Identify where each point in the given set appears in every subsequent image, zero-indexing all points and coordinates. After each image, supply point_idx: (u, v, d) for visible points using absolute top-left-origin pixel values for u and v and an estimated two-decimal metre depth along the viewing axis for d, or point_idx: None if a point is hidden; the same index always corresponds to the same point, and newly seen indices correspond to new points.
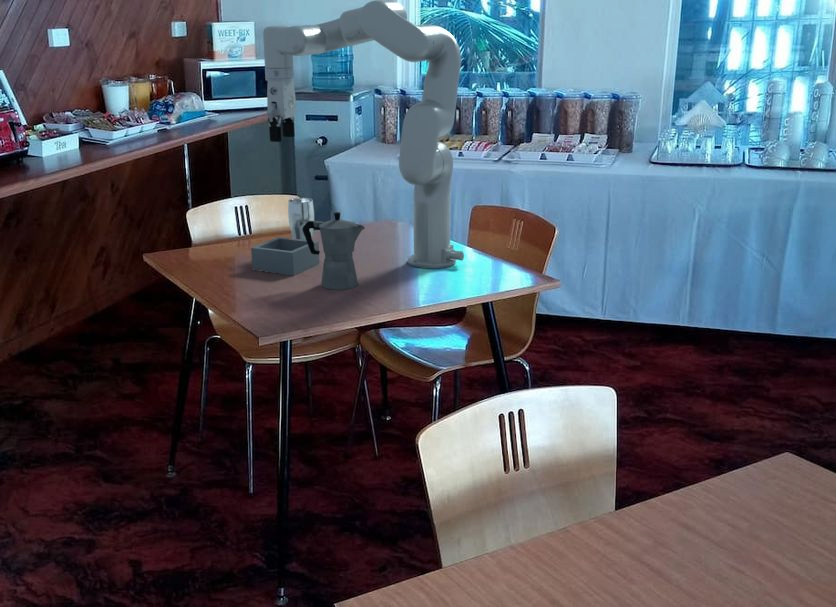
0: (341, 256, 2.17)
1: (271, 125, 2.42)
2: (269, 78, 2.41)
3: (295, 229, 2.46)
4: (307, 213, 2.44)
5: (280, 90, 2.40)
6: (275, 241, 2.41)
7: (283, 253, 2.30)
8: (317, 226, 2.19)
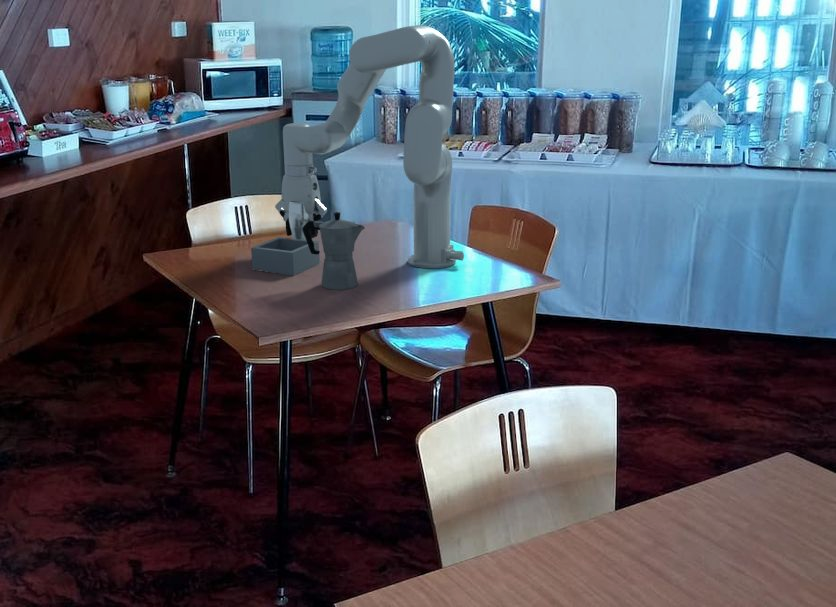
0: (341, 256, 2.17)
1: None
2: (307, 175, 2.41)
3: (295, 229, 2.46)
4: None
5: None
6: (275, 241, 2.41)
7: (283, 253, 2.30)
8: (317, 226, 2.19)
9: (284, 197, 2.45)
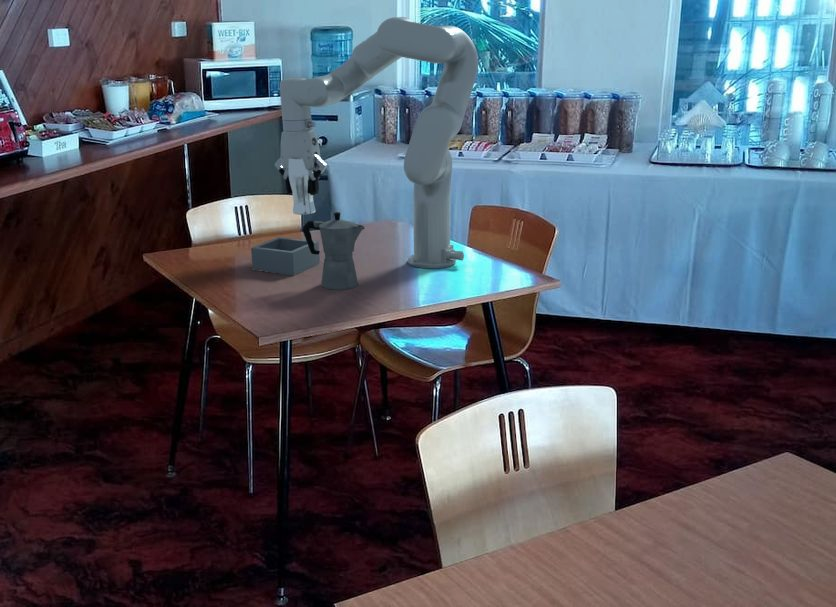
0: (341, 256, 2.17)
1: (316, 178, 2.42)
2: (305, 130, 2.37)
3: (296, 186, 2.42)
4: None
5: (317, 139, 2.41)
6: (275, 241, 2.41)
7: (283, 253, 2.30)
8: (317, 226, 2.19)
9: (283, 154, 2.42)
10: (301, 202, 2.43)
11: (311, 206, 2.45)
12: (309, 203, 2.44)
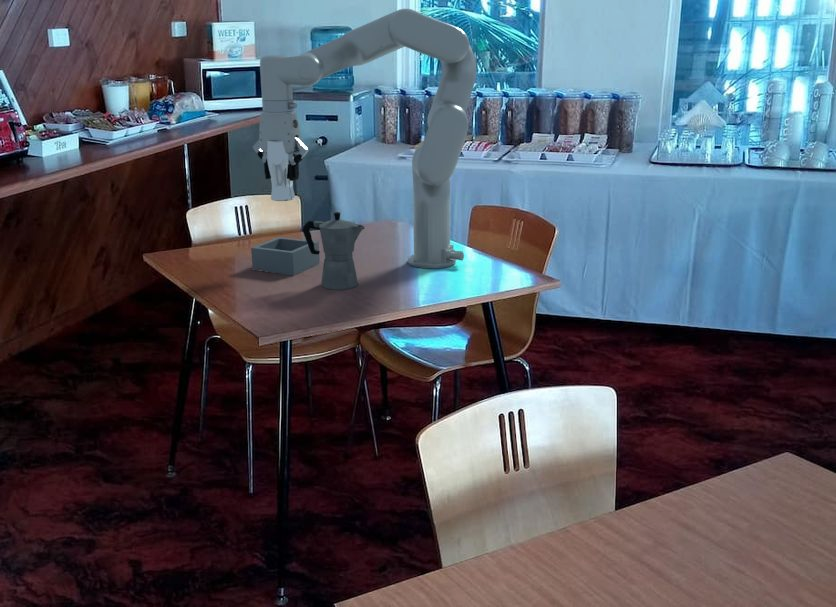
0: (341, 256, 2.17)
1: (296, 163, 2.27)
2: (286, 111, 2.23)
3: (274, 171, 2.28)
4: None
5: (298, 122, 2.27)
6: (275, 241, 2.41)
7: (283, 253, 2.30)
8: (317, 226, 2.19)
9: (262, 136, 2.27)
10: (280, 188, 2.29)
11: (290, 192, 2.31)
12: (288, 189, 2.30)
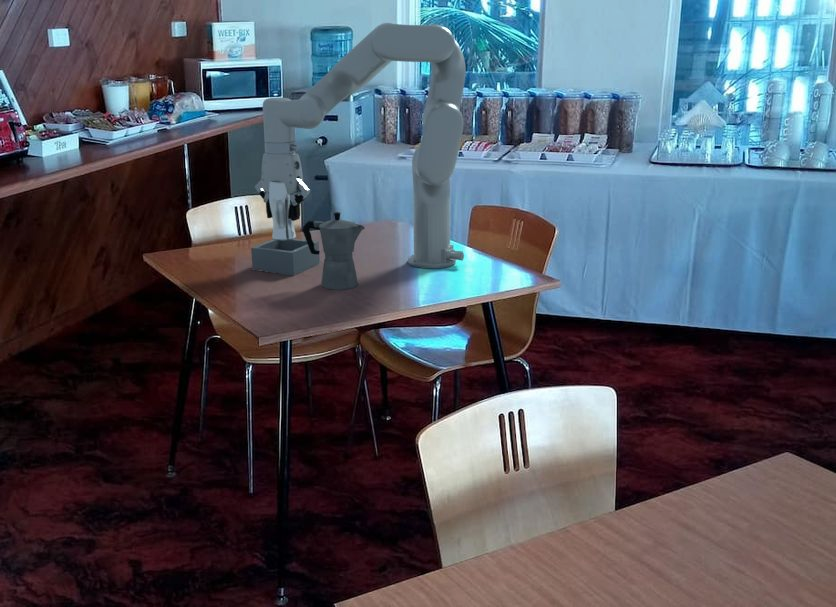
0: (341, 256, 2.17)
1: (298, 203, 2.31)
2: (288, 153, 2.26)
3: (276, 211, 2.31)
4: (288, 194, 2.30)
5: (300, 163, 2.30)
6: (275, 241, 2.41)
7: (283, 253, 2.30)
8: (317, 226, 2.19)
9: (264, 176, 2.31)
10: (281, 227, 2.32)
11: (291, 232, 2.34)
12: (289, 229, 2.33)
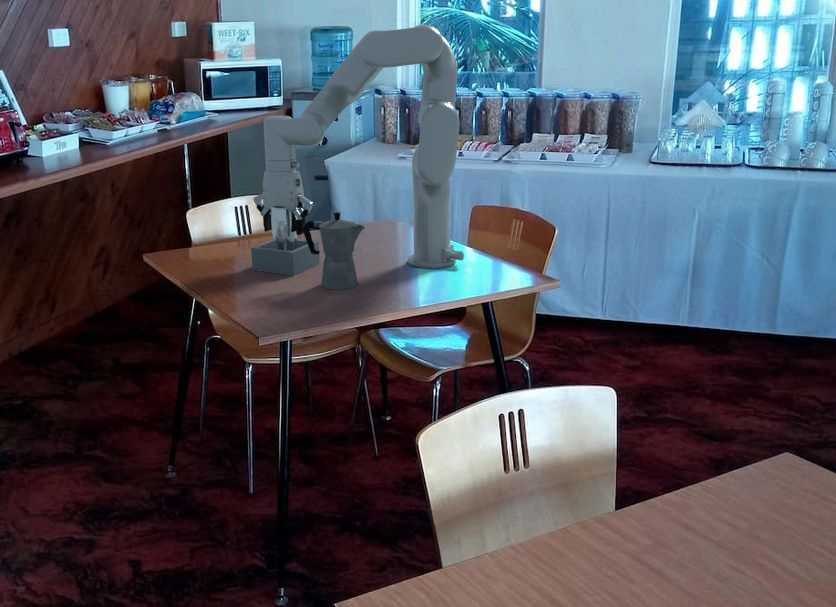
0: (341, 256, 2.17)
1: (303, 217, 2.31)
2: (289, 170, 2.28)
3: (278, 236, 2.33)
4: (290, 219, 2.31)
5: (301, 180, 2.31)
6: None
7: (283, 253, 2.30)
8: (317, 226, 2.19)
9: (265, 194, 2.32)
10: None
11: None
12: None
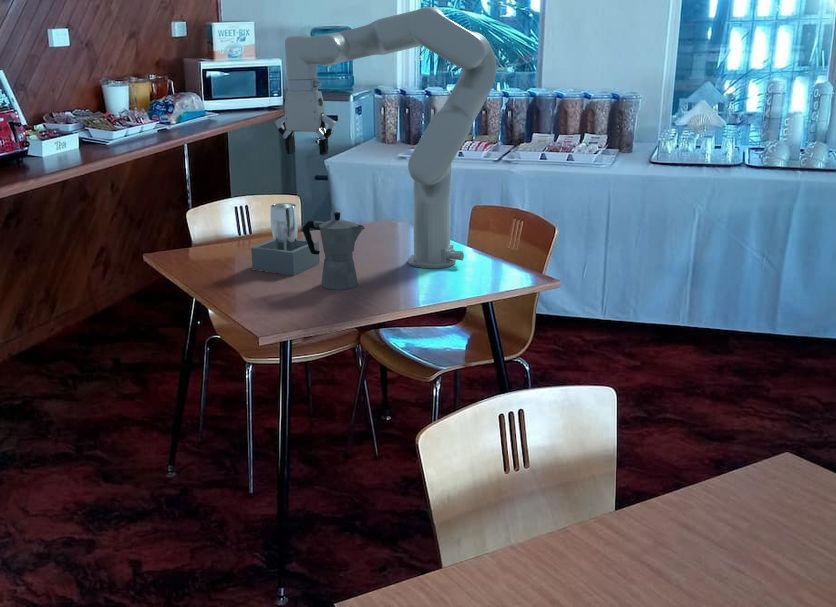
0: (341, 256, 2.17)
1: (326, 137, 2.33)
2: (312, 90, 2.29)
3: (278, 236, 2.33)
4: (290, 219, 2.32)
5: None
6: None
7: (283, 253, 2.30)
8: (317, 226, 2.19)
9: (287, 115, 2.33)
10: None
11: None
12: None
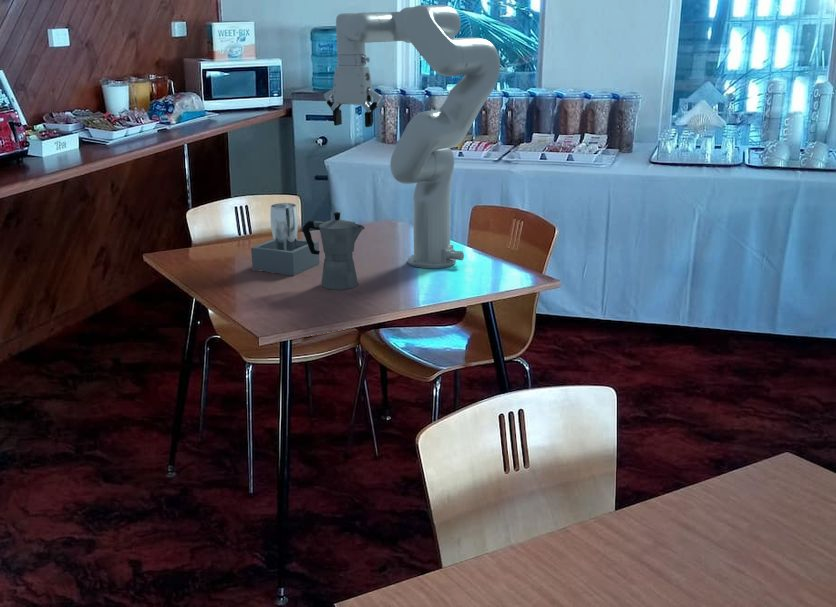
0: (341, 256, 2.17)
1: (372, 110, 2.47)
2: (360, 65, 2.43)
3: (278, 236, 2.33)
4: (290, 219, 2.32)
5: None
6: None
7: (283, 253, 2.30)
8: (317, 226, 2.19)
9: (336, 88, 2.48)
10: None
11: None
12: None
